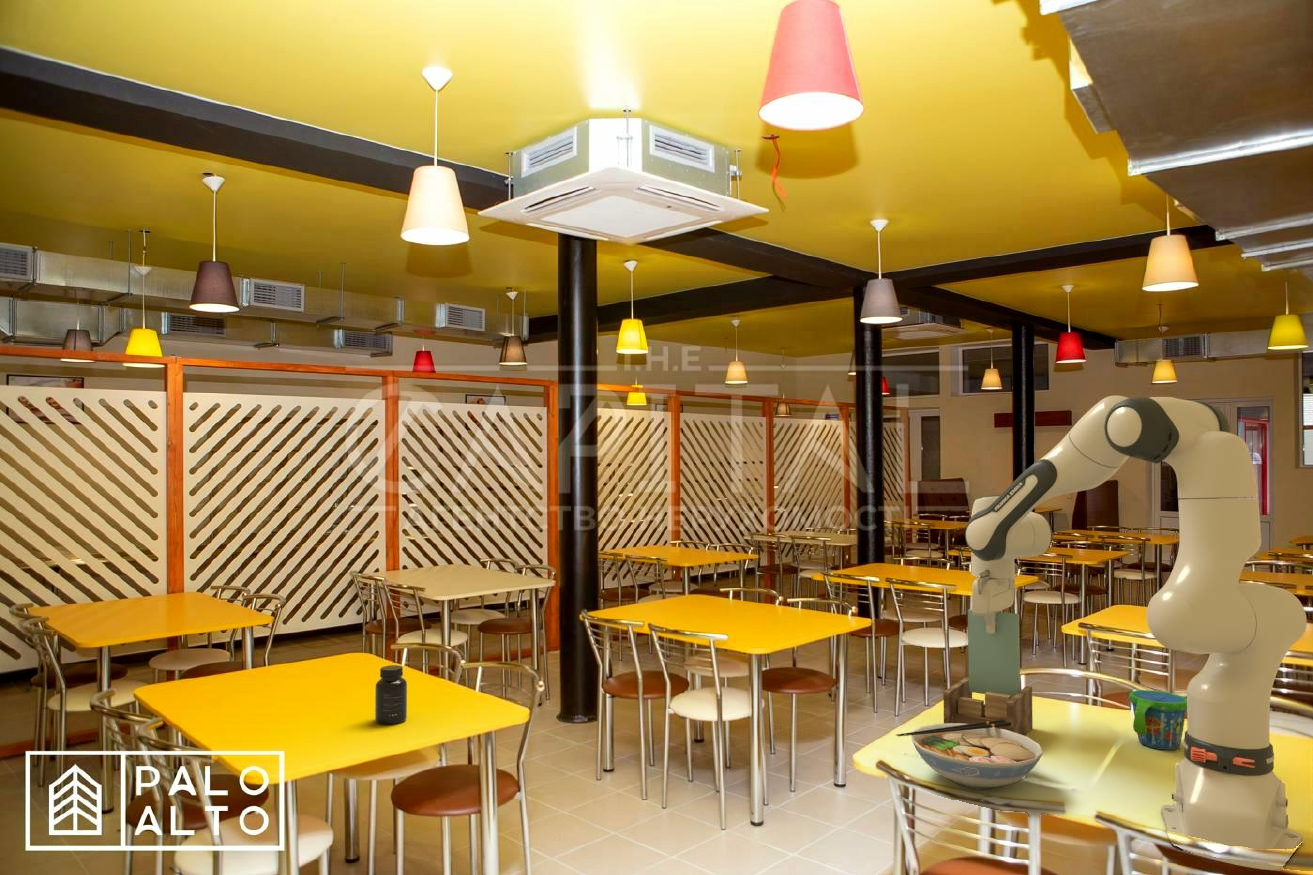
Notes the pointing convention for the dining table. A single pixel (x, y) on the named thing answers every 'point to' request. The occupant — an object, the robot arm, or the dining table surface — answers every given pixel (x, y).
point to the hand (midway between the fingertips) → (993, 631)
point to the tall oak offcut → (996, 705)
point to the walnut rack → (1016, 708)
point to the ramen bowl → (976, 752)
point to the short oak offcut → (971, 706)
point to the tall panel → (994, 655)
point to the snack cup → (1158, 718)
